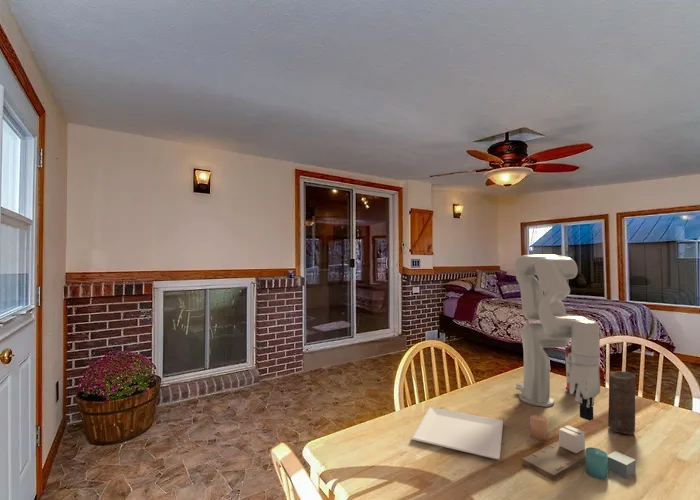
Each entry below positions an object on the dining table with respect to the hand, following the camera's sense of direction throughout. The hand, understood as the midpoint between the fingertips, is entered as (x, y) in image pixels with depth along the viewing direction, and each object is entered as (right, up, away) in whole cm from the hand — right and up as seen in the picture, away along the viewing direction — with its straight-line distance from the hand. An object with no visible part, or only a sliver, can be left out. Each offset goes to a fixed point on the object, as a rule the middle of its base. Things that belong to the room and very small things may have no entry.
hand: (586, 418), depth 113 cm
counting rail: (-13, -9, -7) cm, 17 cm away
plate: (-37, -10, +8) cm, 39 cm away
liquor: (+23, -9, +43) cm, 50 cm away
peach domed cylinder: (-12, -9, +6) cm, 16 cm away
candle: (+18, -9, +9) cm, 22 cm away
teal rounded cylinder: (-6, -9, -14) cm, 18 cm away
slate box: (+1, -9, -13) cm, 16 cm away
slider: (-7, -7, -4) cm, 10 cm away
